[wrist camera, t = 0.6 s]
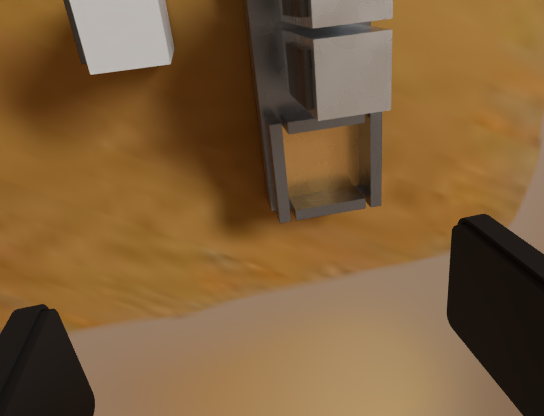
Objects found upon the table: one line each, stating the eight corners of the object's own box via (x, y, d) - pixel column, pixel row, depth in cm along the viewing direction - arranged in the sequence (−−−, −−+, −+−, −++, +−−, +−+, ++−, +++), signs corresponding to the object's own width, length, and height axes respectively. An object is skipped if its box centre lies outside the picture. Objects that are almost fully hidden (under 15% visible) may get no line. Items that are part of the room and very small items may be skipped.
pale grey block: (90, -11, 27) (56, -14, 20) (161, -19, 28) (153, -25, 21) (107, 57, 29) (82, 75, 22) (174, 48, 29) (170, 64, 22)
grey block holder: (237, -45, 28) (261, -66, 19) (358, -58, 29) (436, -84, 20) (267, 200, 35) (294, 268, 27) (362, 184, 36) (418, 244, 27)
